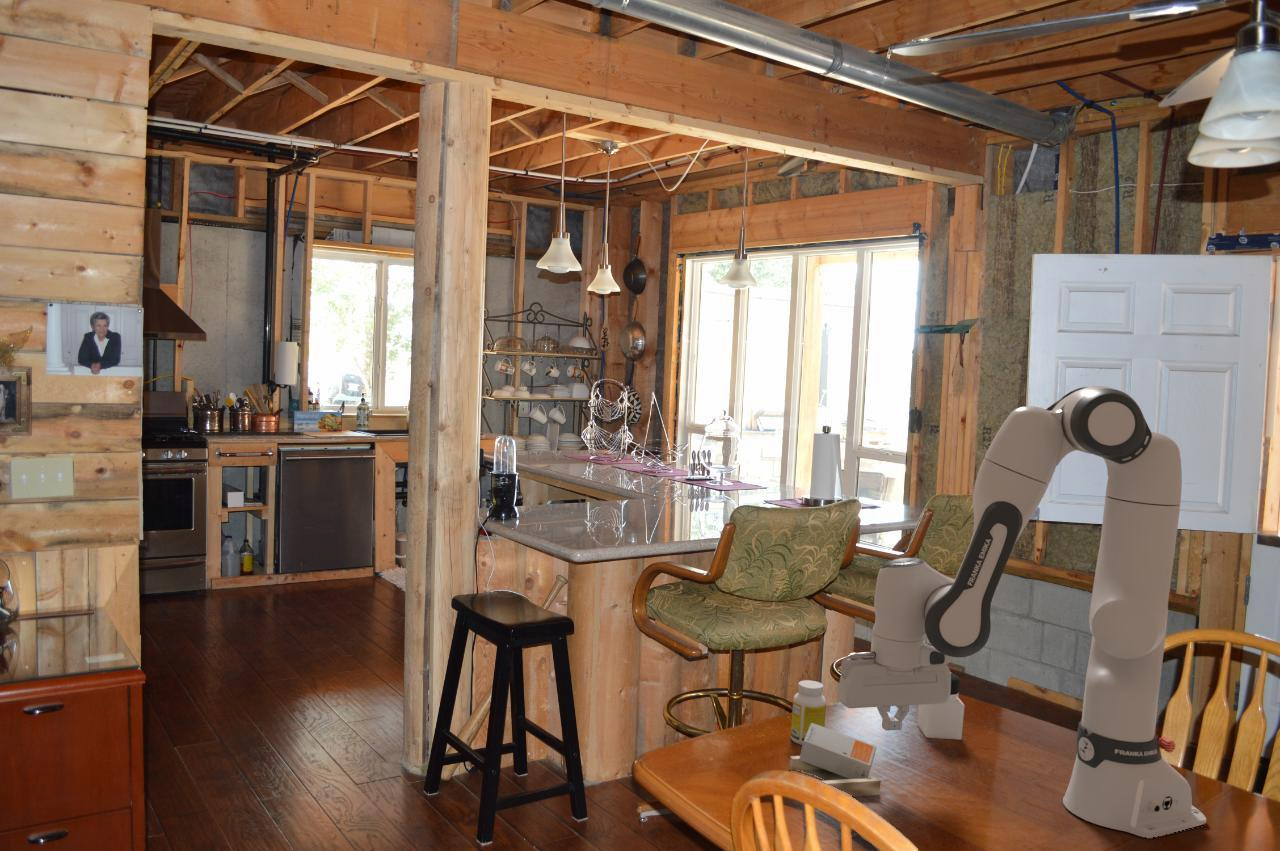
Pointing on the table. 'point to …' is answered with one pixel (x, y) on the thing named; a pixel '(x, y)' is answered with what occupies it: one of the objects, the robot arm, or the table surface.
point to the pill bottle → (807, 709)
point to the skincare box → (837, 752)
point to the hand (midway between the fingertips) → (891, 729)
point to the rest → (837, 779)
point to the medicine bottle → (943, 716)
